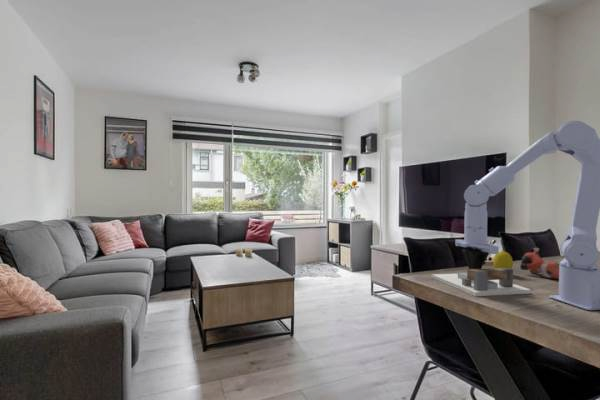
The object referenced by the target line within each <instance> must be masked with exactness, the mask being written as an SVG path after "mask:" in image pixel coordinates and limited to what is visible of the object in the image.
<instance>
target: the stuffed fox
mask: <svg viewBox="0 0 600 400" xmlns="http://www.w3.org/2000/svg"><path fill="white" fill-rule="evenodd" d="M538 252H540V248H539V247H533V248H532V250H531V251H530V252H525V253H524V254H523V255H522V257H521V261H520V263H521V264H520V265H519V266H520V270H523V271H524V270H525V271H529V273H530V274H531V273H532V274H541V276H542V277H543V279H544V278H545V279H547V280H548V279H554V280H559V262H555V261H544V260H543V258H542V257H541V256H540V255H539V254H537V253H538Z"/></svg>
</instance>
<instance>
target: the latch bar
mask: <svg viewBox="0 0 600 400" xmlns="http://www.w3.org/2000/svg"><path fill="white" fill-rule="evenodd" d="M474 271H487V280H499V285H502V286H507V287H512V286H513V284H514V269H513V268H512V269H510V268H495V267H494V268H493V267H492V268H491V267H490V268H481V269H469V268H467V270H466V273H467V279H470V280H473V281H474Z"/></svg>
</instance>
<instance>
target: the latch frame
mask: <svg viewBox="0 0 600 400" xmlns="http://www.w3.org/2000/svg"><path fill="white" fill-rule="evenodd" d="M431 278H432V279H434V280H436V281H439V282H441V283H444V284H446V285H448V286H451V287H452V288H455V289H457V290H460V291H463V292H464V293H467V294H469V295H471V296H474V297H484V296H485V297H486V296H487V297H488V296H504V295H505V296H506V295H508V296H509V295H526V294H532V289H530V288H528V287H524V286H521V285H518V284H516V283H515V284H514V283H513V286H512V287H507V286H502V285H499V280H487V271H474V281H473V280H470V279H467V272H457V273H439V274H438V273H437V274H436V273H434V274H431Z"/></svg>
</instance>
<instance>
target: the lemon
mask: <svg viewBox="0 0 600 400" xmlns="http://www.w3.org/2000/svg"><path fill="white" fill-rule="evenodd" d="M492 263H493V267H494V268H510V269H513V266H514V262H513V257H512V256H511V254H510V253H508V252H507V251H505V250H501V251H499V253H498V254H494V256H493V261H492Z"/></svg>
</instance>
